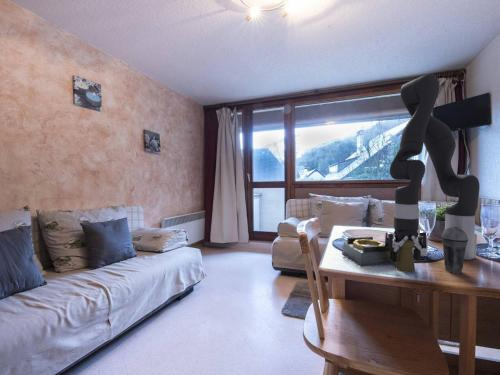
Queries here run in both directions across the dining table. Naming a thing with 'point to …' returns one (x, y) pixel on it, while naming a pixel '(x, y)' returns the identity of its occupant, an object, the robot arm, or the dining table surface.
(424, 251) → the eye dropper bottle
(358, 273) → the dining table surface
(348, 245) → the grey peg socket base
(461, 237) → the beverage cup
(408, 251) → the cork
